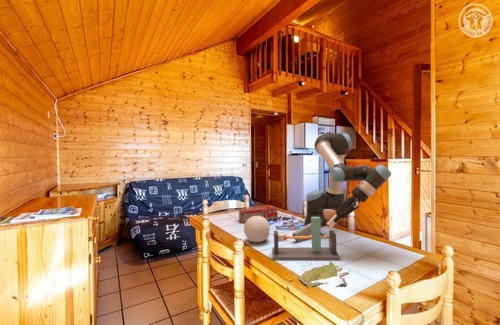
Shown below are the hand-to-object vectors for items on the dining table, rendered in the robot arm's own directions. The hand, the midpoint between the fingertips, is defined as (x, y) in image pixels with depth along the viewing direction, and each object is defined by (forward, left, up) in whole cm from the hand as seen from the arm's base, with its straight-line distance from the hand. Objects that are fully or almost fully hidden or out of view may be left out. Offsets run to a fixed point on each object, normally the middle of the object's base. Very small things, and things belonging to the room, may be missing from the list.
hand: (328, 225), depth 121 cm
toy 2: (+28, -31, -15) cm, 44 cm away
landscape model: (+13, +19, -16) cm, 28 cm away
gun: (-3, -25, -15) cm, 29 cm away
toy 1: (+14, -74, -15) cm, 77 cm away
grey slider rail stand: (+12, -4, -15) cm, 19 cm away
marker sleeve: (+6, -2, -12) cm, 13 cm away
